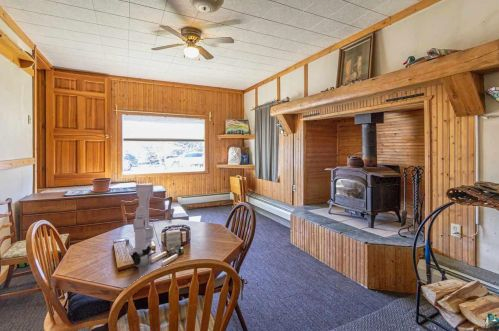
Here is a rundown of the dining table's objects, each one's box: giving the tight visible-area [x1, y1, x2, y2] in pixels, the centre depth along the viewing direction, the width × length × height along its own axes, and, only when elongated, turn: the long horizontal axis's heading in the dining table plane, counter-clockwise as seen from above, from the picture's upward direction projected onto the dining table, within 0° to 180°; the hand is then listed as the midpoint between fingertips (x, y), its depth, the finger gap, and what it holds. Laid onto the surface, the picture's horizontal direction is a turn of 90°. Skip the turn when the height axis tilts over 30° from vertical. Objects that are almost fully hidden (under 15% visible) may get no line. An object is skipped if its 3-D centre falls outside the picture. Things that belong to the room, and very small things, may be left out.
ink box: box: [165, 229, 182, 252], centre depth 172 cm, size 9×5×12 cm, turn 117°
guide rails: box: [149, 251, 179, 267], centre depth 155 cm, size 10×12×2 cm
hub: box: [136, 253, 149, 269], centre depth 148 cm, size 5×5×6 cm
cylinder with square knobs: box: [168, 245, 185, 256], centre depth 164 cm, size 6×8×4 cm
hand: (140, 262), depth 148 cm, fingers open, 6 cm apart
